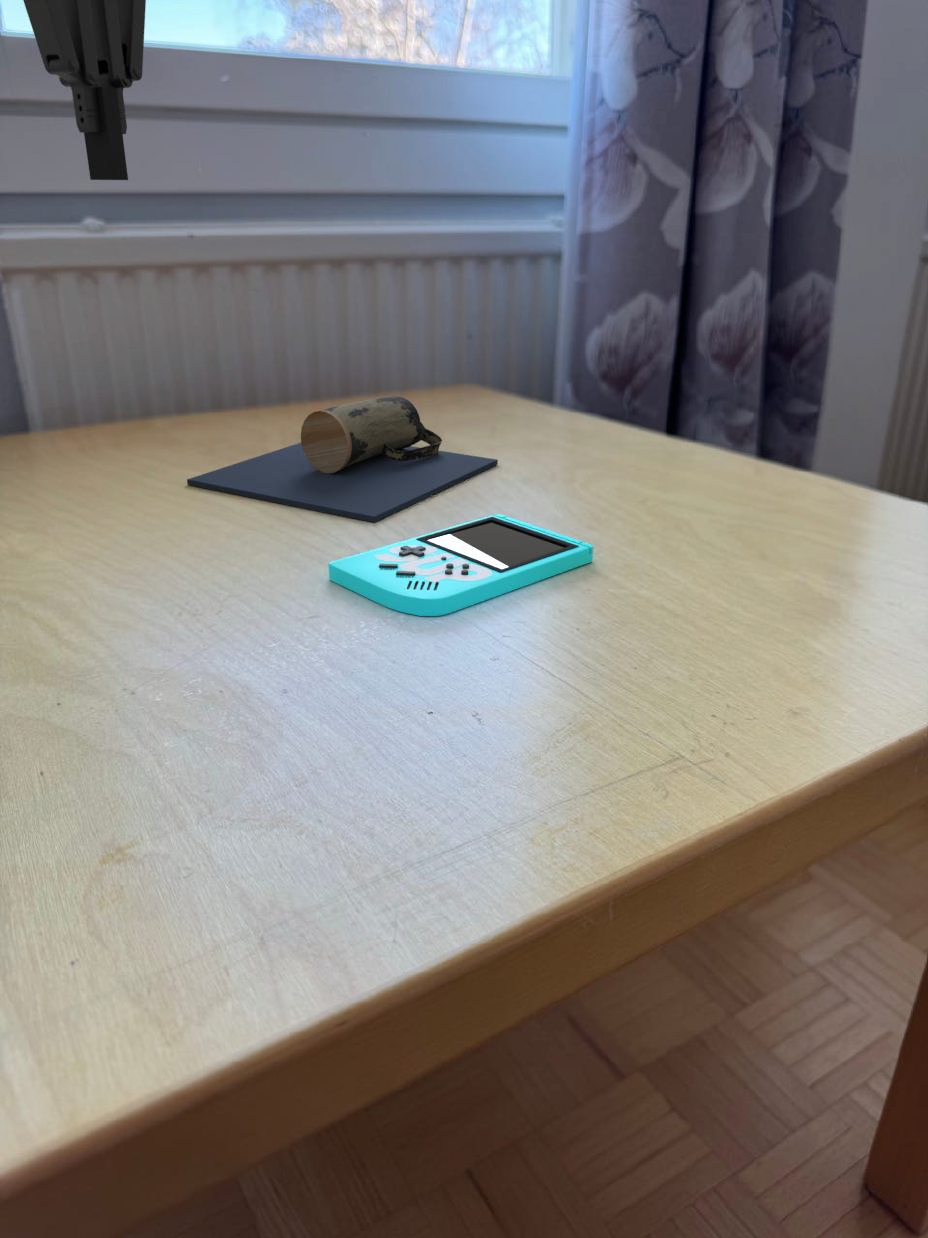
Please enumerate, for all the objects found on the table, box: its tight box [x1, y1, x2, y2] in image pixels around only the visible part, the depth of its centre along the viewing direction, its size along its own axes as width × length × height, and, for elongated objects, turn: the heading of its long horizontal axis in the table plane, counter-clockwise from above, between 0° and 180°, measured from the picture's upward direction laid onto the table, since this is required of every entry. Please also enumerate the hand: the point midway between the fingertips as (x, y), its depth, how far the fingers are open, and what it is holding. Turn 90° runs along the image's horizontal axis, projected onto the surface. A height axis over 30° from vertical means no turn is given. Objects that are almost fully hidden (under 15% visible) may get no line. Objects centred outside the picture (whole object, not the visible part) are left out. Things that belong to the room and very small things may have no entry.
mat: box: [186, 442, 499, 523], centre depth 87 cm, size 20×20×1 cm
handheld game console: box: [328, 513, 594, 617], centre depth 66 cm, size 10×16×1 cm, turn 132°
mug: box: [300, 396, 443, 474], centre depth 89 cm, size 8×6×12 cm
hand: (109, 179), depth 78 cm, fingers closed
